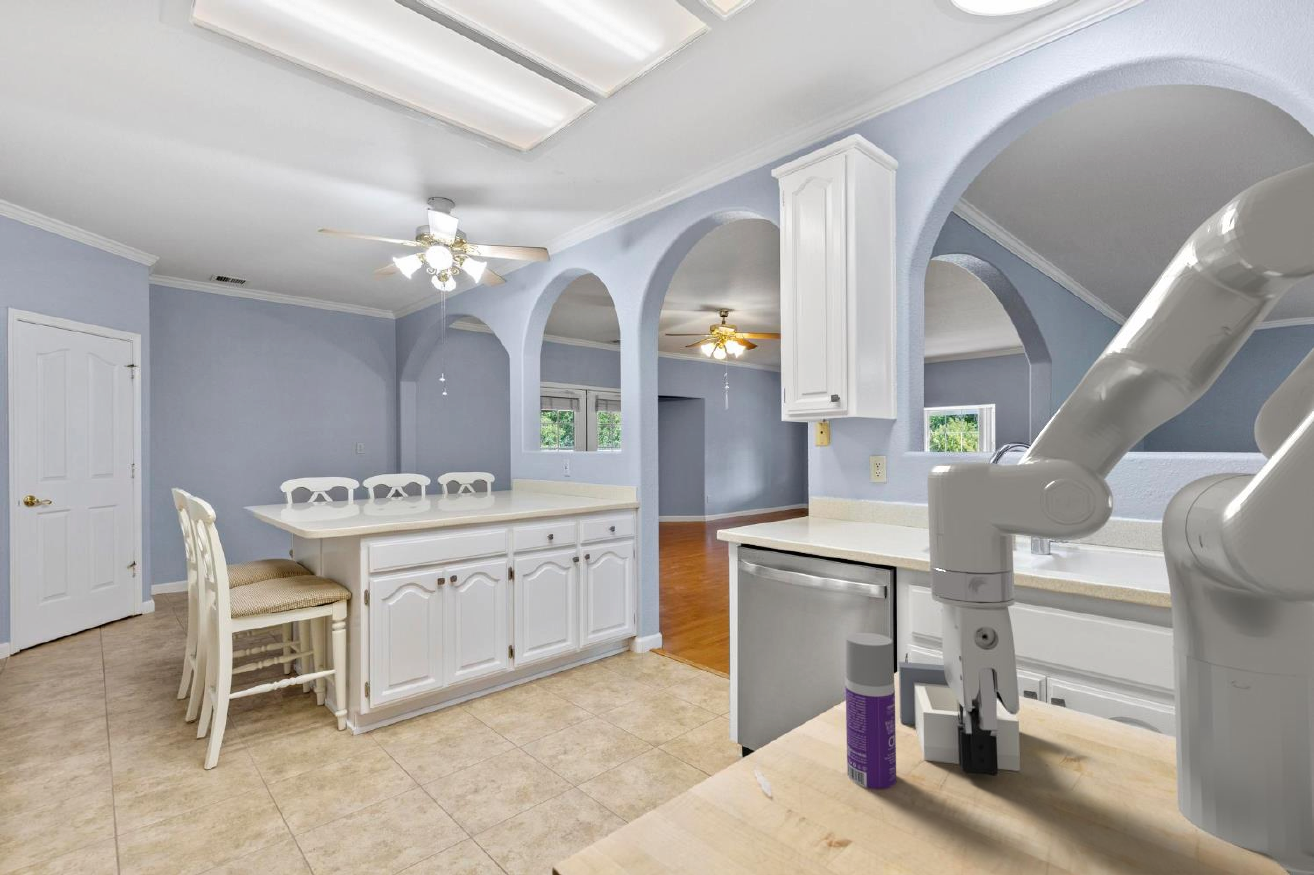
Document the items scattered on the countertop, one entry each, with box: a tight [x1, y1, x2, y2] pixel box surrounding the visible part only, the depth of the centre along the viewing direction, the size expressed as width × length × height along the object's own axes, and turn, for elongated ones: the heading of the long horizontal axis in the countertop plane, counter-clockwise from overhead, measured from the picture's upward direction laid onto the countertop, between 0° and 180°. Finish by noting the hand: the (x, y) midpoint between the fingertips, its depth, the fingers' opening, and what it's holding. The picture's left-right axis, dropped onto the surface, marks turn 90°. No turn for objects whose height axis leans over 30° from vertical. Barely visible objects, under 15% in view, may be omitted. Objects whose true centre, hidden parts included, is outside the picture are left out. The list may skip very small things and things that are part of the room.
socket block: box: [914, 683, 1021, 772], centre depth 70 cm, size 9×9×5 cm
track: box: [898, 661, 948, 726], centre depth 67 cm, size 12×19×8 cm, turn 164°
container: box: [845, 632, 897, 790], centre depth 64 cm, size 5×5×15 cm
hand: (978, 770), depth 63 cm, fingers closed
